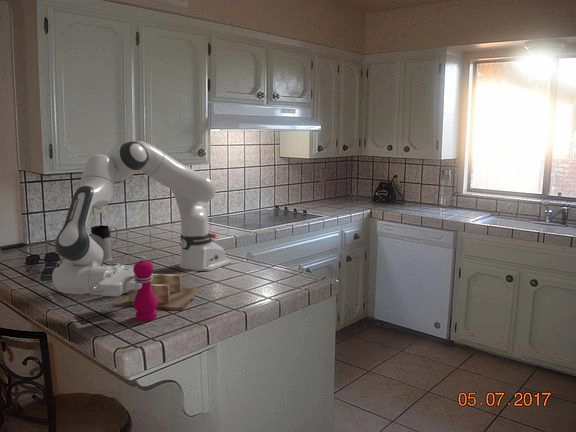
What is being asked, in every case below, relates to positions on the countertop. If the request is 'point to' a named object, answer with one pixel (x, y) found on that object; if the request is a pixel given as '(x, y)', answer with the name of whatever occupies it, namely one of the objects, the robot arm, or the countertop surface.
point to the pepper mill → (145, 291)
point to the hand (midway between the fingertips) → (146, 281)
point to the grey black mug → (103, 240)
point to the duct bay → (165, 293)
